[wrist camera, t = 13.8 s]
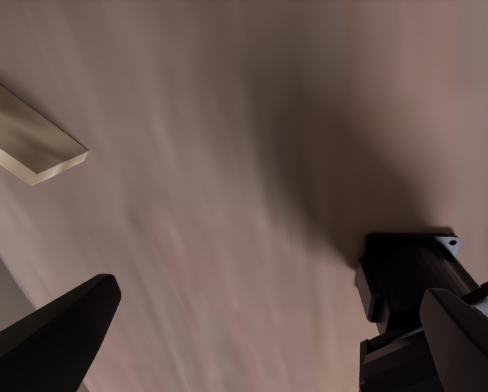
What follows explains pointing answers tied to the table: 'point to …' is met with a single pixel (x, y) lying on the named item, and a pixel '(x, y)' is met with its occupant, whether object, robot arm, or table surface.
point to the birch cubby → (33, 142)
